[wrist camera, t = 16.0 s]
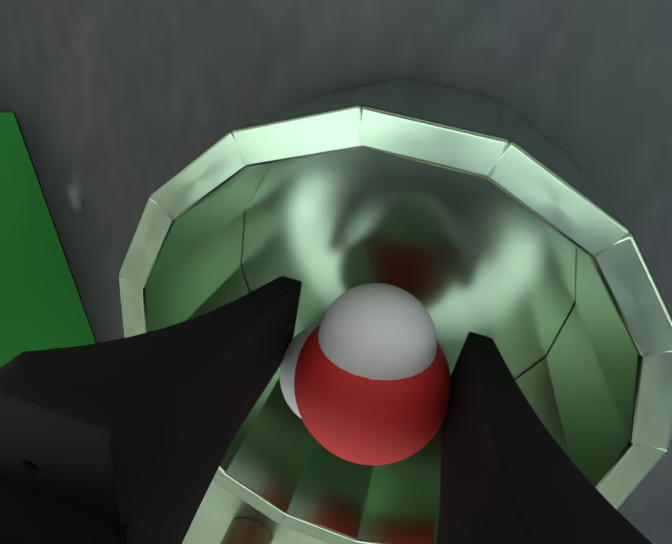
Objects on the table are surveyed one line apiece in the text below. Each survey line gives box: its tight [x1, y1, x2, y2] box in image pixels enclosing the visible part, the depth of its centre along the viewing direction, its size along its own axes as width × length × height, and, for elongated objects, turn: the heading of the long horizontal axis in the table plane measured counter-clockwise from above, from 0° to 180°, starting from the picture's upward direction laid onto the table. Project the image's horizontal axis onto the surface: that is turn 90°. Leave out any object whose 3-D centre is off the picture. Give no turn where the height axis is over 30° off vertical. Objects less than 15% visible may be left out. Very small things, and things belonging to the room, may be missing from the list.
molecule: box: [280, 283, 451, 465], centre depth 12 cm, size 5×5×4 cm
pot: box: [119, 79, 672, 544], centre depth 13 cm, size 12×12×6 cm
